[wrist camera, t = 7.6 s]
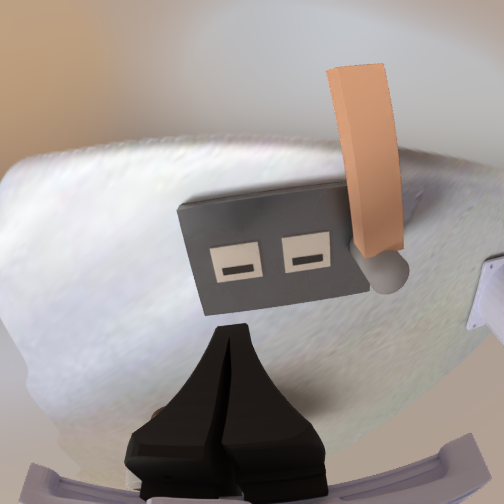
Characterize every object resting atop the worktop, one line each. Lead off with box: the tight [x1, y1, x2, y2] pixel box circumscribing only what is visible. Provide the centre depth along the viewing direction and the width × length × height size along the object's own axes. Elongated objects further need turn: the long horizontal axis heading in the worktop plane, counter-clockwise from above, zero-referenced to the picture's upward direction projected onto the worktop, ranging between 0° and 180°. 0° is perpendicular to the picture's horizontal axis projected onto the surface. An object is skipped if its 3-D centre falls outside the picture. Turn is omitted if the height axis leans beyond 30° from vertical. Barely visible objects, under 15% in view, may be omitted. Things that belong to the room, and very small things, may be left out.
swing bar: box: [326, 64, 409, 295], centre depth 16 cm, size 12×2×4 cm, turn 14°
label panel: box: [177, 181, 370, 316], centre depth 20 cm, size 12×8×1 cm, turn 98°
